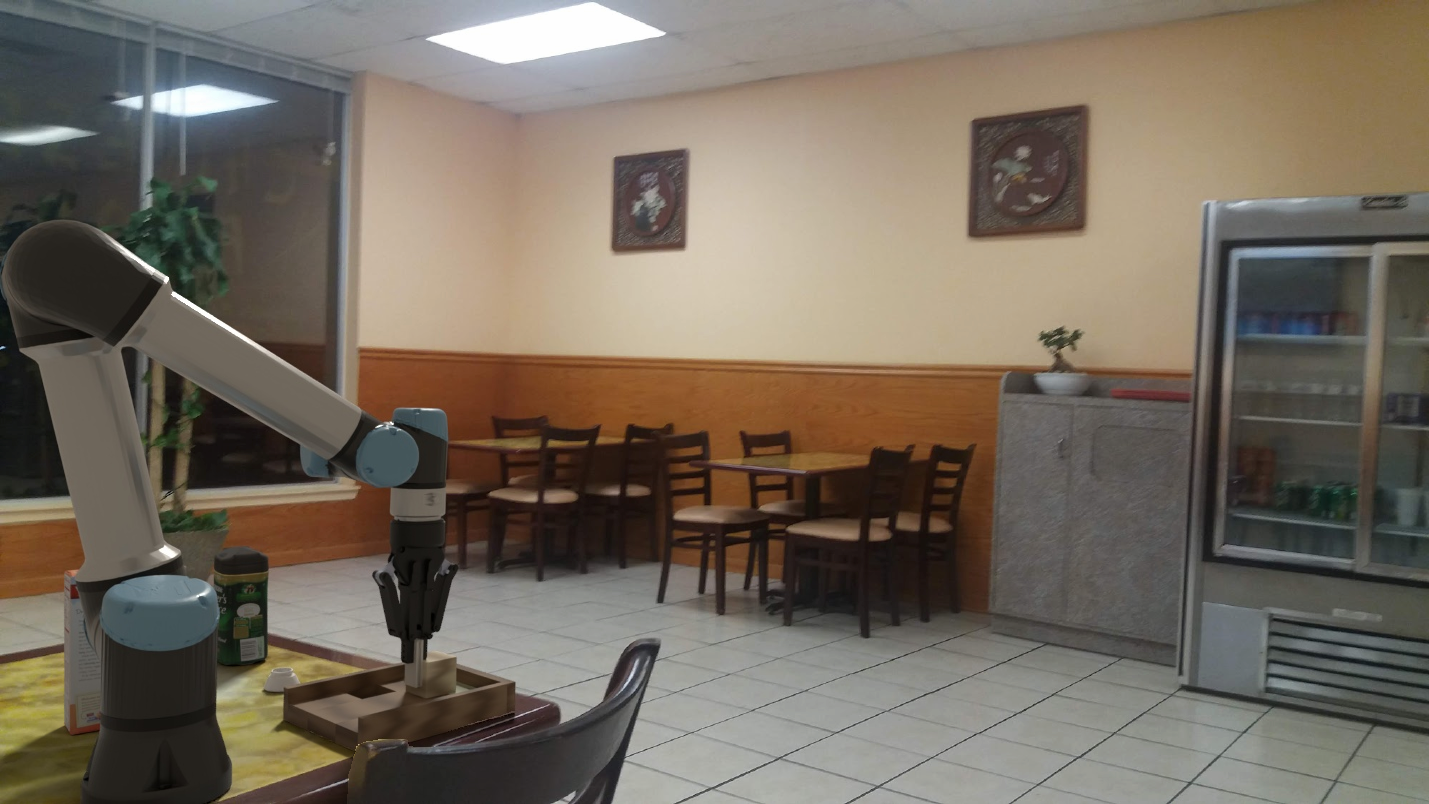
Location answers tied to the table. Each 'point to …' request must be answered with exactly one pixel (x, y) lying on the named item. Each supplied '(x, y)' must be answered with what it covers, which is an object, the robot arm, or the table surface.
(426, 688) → the maple cube
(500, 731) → the table surface
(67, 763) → the table surface
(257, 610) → the coffee jar
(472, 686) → the box
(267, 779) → the table surface
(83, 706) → the cracker box
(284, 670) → the white tapered collar
